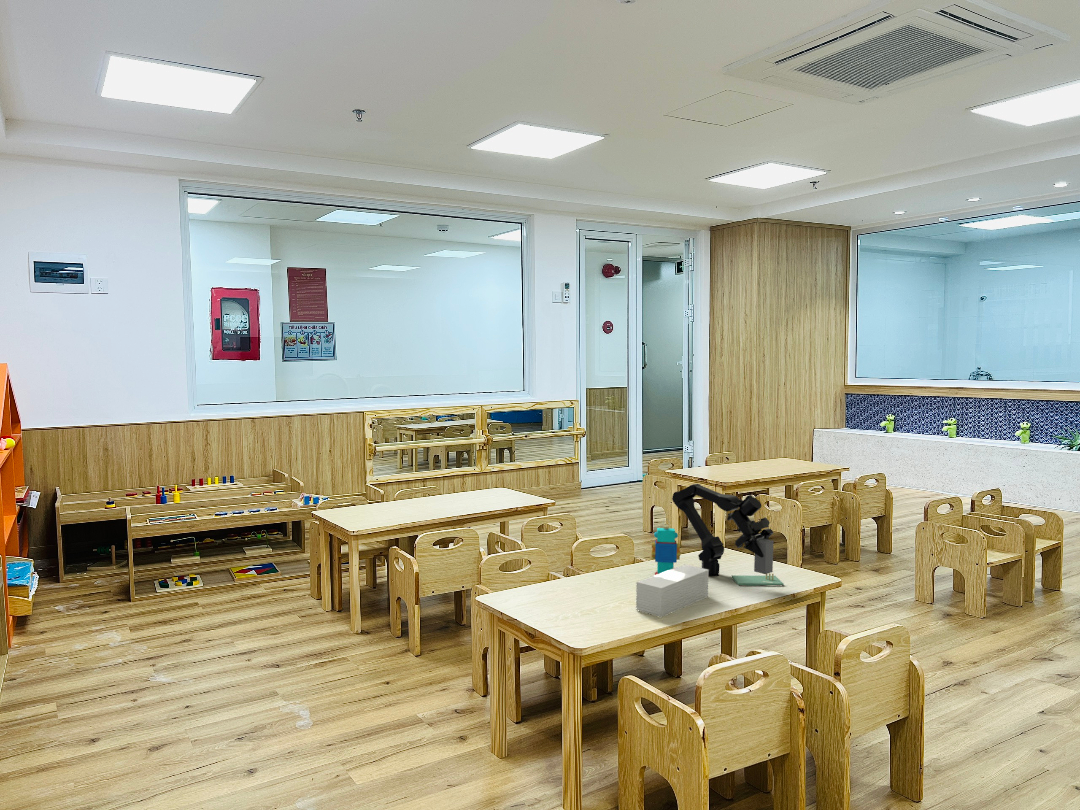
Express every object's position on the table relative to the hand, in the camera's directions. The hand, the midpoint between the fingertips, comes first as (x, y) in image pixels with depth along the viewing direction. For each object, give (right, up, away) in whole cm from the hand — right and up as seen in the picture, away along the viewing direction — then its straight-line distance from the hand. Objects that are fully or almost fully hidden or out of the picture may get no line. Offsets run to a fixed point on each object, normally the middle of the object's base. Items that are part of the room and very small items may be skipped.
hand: (766, 555), depth 308 cm
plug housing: (-1, -6, +2) cm, 7 cm away
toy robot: (-38, -12, +14) cm, 42 cm away
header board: (-1, -13, +11) cm, 17 cm away
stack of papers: (-39, -15, -16) cm, 45 cm away
